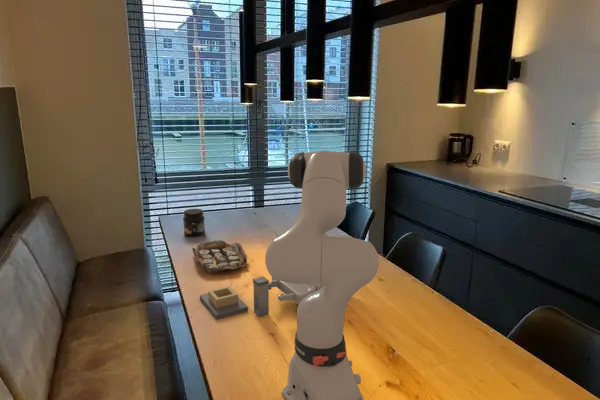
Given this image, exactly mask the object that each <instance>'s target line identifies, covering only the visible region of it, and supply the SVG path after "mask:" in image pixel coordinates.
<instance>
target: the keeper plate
mask: <svg viewBox="0 0 600 400" xmlns="http://www.w3.org/2000/svg"><path fill="white" fill-rule="evenodd" d="M199 299H200V301H201V302H202V303H203V305H204V306H205V307H206V308H207V310H208V311H209V312H210V313H211V314H212V316H213V317H214V319H216V320H219V319H222V318H227V317H231V316H234V315H238V314H242V313H245V312H248V311H249V306H248V305H247V304H246V303H245V302H244V301H243V300H242V299H241V298H240V297H239V294H238V293H237V292H236V291H235V290H234V289H233V288H232V287H231V286H229V285H227V286H224V287H219V288H214V289H210V290H208V292H207V293H203V294H200V295H199Z"/></svg>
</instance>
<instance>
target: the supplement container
mask: <svg viewBox="0 0 600 400" xmlns="http://www.w3.org/2000/svg"><path fill="white" fill-rule="evenodd" d="M182 221H183V234H184V236H186V237H188V238H190V237H191V238H193V237H194V238H195V237H201V236H203V235H204V234H205V233H206V228H205V226H206V225H205V222H206V221H205V216H204V210H203V209H201V208H200V209H199V208H189V209H186V210H184V211H183V218H182Z"/></svg>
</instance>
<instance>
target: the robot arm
mask: <svg viewBox="0 0 600 400" xmlns="http://www.w3.org/2000/svg"><path fill="white" fill-rule="evenodd" d="M288 162H289V163H288V166H287V176H288V179H289V180H290V185H292V186H293V187H294V188H296V189H299V190H301V201H300V207H299V211H298V215H297V217H296V219H295V221H294V222H293V224H292V225H291V226H290V227H289V228H288V230H286V231H285V232H284V233H282V234H281V235H279V236H278V237H275V238H274V239H273V240H272V241H271V242H270V244H269V245H268V247H267V248H266V251H265V252H266V253H265V258H264V263H265V267H266V270H267V272H268V274H269V275H270V277H271V281H269V284H268V287H269V291H270V290H272V288H277V289H278V290H279V291H281V292H282V293H281V294H278V296H277V300H279V302H285V301H286V302H294V303H296V304H297V305H298V306H297V309H296V332H295V335H294V343H293V344H294V354H293V355H292V358H291V359H290V360H289V363H288V373H287V375H288V376H287V385H285V387H283V389H282V393H281V395H282V398H284V399H285V400H365V399H364V397H363V395H362V393H361V391H360V388H359V385H360V384H361V382H362V381H361V379H362V378H361V375H360V373H354V372H353V369H352V368H353V361H352V360H350V359H349V358H348V355H347V348H346V346H347V345H346V339H345V334H344V325H345V324H344V323H345V316H346V315H345V314H346V310H347V307H348V304H349V302H350V301H351V299H352V298H353V296H354V295H355V294H356V293H357V292H358V291H359V290H360V289H362V288H363V287H364V286H366V285H367V284H370V282H371V281H373V280H374V278H375V276H376V275H377V273H378V270H379V266H380V265H379V264H380V260H379V255H378V252H377V249H376V248H375V246H374V245H373V244H372V243H371V241H368V240H363V239H361V238H356V237H349V236H348V237H347V236H345V237H344V236H342V237H341V236H328V234H327V232H329V231H333V230H334V229H335V228H338V226H339V225H340V224H341V223H342V222H343V221H344V220H345V219H346V214H347V211H346V210H347V202H348V201H347V200H348V198H347V196H348V195H347V192H348V191H347V189H349V190H354V189H357V188H360V187H361V186H362V185H363V184H364V181H365V178H366V175H367V165H366V162H365V160H364V158H363V156H362V155H361V154H360V153H359V152H354V151H349V152H343V151H331V150H317V151H310V152H304V151H301V152H298V153H295V154H293V155H292V156H291V157H290V160H289V161H288Z"/></svg>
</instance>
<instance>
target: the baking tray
mask: <svg viewBox="0 0 600 400" xmlns="http://www.w3.org/2000/svg"><path fill="white" fill-rule="evenodd" d="M191 249H192V254H193V255H194V256H193V257H194V258H195V261H196V263H197V264H198V265H199V266H200V267H202V268H203V269H204V270H205V271H207V272H208V273H211V274H214V273H219V272H223V271H232V270H235V269H242V268H243V267H245V266H248V263H247V262H248V256H247V254H246V251H245V250H244V249H243V246H242V245H241V243H239V242H233V243H231V244H229V243H227V241H224V240H219V239H218V240H215V239H214V240H207V241H205V242H202V243H199V244H198V245H196V246H195V247H192V248H191ZM214 262H215V263H214Z"/></svg>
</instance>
